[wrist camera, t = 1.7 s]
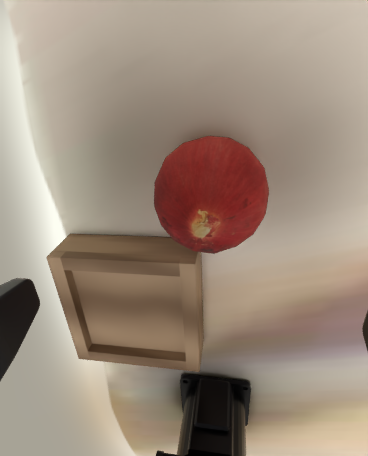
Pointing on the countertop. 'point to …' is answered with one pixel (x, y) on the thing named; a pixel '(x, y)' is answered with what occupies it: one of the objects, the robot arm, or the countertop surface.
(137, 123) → the countertop surface
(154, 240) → the brown wooden tray
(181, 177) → the onion
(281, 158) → the countertop surface
